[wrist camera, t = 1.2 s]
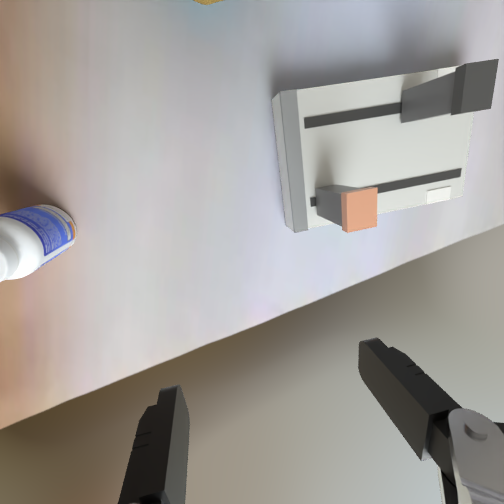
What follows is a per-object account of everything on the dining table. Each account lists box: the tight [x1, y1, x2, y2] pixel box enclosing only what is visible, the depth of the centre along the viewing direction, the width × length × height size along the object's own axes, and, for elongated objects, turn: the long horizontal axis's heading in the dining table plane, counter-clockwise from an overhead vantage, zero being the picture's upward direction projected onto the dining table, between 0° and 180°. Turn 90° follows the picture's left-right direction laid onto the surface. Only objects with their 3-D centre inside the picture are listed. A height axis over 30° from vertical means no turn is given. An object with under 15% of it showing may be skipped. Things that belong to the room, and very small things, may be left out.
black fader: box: [401, 59, 499, 123], centre depth 23 cm, size 3×3×7 cm
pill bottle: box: [0, 205, 77, 282], centre depth 23 cm, size 5×5×10 cm
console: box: [271, 65, 474, 233], centre depth 29 cm, size 14×22×3 cm, turn 99°
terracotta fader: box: [315, 184, 378, 233], centre depth 25 cm, size 3×3×7 cm
